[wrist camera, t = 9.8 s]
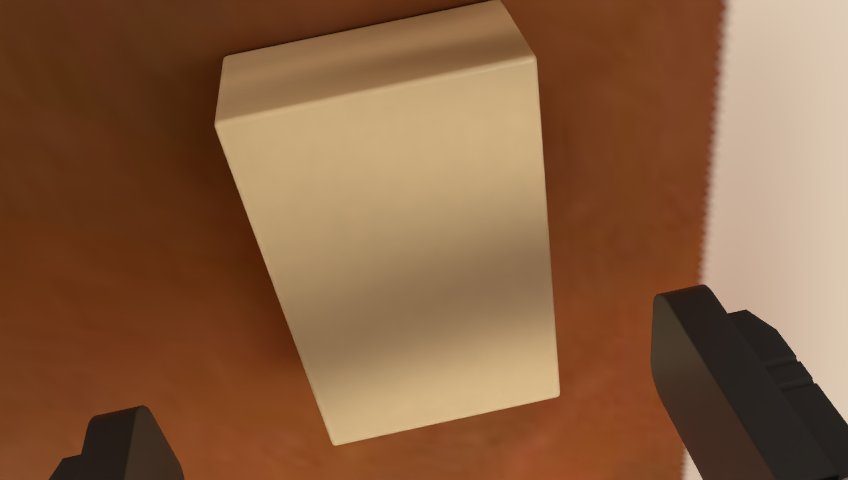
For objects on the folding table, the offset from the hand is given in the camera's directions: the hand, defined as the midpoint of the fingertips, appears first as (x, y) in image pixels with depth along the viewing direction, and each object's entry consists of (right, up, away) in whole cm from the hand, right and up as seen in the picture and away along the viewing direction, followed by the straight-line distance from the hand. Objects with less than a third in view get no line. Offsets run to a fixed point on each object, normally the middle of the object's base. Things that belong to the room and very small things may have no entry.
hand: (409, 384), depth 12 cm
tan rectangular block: (0, +3, +4) cm, 5 cm away
